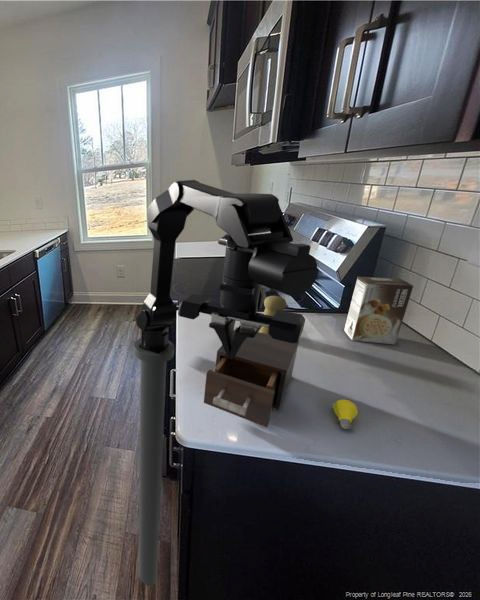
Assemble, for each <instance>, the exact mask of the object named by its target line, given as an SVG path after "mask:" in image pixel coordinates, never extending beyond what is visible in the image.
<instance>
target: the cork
mask: <svg viewBox="0 0 480 600" xmlns="http://www.w3.org/2000/svg"><path fill="white" fill-rule="evenodd" d="M263 305H264V311H263V314H264V315H269V316H274V315H275V313H276V312H277V310H281V311H284V310H285V308H286V307H287V301H286V299H285V298H284V297H282V296H279V295H269V296H267V297H266V298H264V300H263ZM268 331H269V328H268V327H263V326H262V327H261V329H260V330H259V332H260V333H264V334H269V333H268Z"/></svg>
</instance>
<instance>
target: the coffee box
mask: <svg viewBox="0 0 480 600" xmlns="http://www.w3.org/2000/svg"><path fill="white" fill-rule="evenodd" d="M413 288H414V285H413V284H412V283H409V282H408V281H406V280H404V279H402V278H401V277H400V278H396V277H373V276H357V277H356V281H355V285H354V289H353V293H352V297H351V301H350V306H349V309H348V314H347V318H346V322H345V325H344V329H343V331H344V332H345V333H346V335H347V336H348V337H349V338H350V339H351V341H357V342H364V343H366V342H367V343H374V344H384V345H385V344H387V345H396V343H397V340H398V336H399V333H400V331H401V328H402V327H401V326H402V323H403V321H404V318H405V314H406V311H407V308H408V305H409V301H410V299H411V295H412V292H413Z"/></svg>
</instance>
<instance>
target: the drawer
mask: <svg viewBox="0 0 480 600" xmlns="http://www.w3.org/2000/svg"><path fill="white" fill-rule="evenodd" d="M215 366H216V365H215ZM280 375H281V373H280V372H277V371H273V370H270V369H266V368H263V367H259V366H256V365H253V364H249V363H246V362H242V361H239V360H235V359H233V360H231V359H228V358H227V357H225V356H224V357H223V358H222V359H221V361H220V362H219V363H218V365H217V366H216V367H214V370H212V369H208V370H207V371H206V374H205V386H204V395H203V404H205V405H208V406H211V407H213V408H216V409H219V410H221V411H223V412H226V413H229V414H231V415H234V416H237V417H239V418H241V419H244V420H247V421H248V422H251V423H254V424H257V425H260V426H261V427H264V428H268V427H269V424H270V419H271V414H272V410H273V408H272V405H273V400H274V397H275V395H276V392H277V390H278V386H279V380H280Z"/></svg>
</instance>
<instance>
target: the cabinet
mask: <svg viewBox="0 0 480 600" xmlns="http://www.w3.org/2000/svg"><path fill="white" fill-rule="evenodd" d="M238 327H239V326H237V327H235V328H234V334H235V331H236V330H237V328H238ZM299 343H300V341H298V343H289V342H285V341H280V340H276V339H273V338H272V337H271V336H270V335H269V334H264V333H260V332H258V333H257V335H256V336H255V337H254V338H249V337H247V338H246V339H245V341H244V342H243V343H242V345H241V347H240V348H239V350H238V352H237V354H236V355H235V357H234V359H235V360H239V361H242V362H246V363H249V364H253V365H256V366H259V367H263V368H266V369H270V370H273V371H277V372H280V373H281V375H280V380H279V386H278V390H277V392H276V395H275V397H274V400H273V405H272V409H274V410H278V411H280V408H281V406H282V404H283V400H284V398H285V396H286V393H287V390H288V388H289V385H290V382H291V380H292V377H293V371H294V367H295V363H296V358H297V352H298V348H299ZM224 356H225V357H227V355H226V353H225V350H224V348H223V345H222V344H221V346H220V347H219V348H218V349H217V351H216V357H215V367H216V366H217V365H218V363H219V362H220V361H221V359H222V358H223V357H224ZM215 367H214V368H215Z"/></svg>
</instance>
